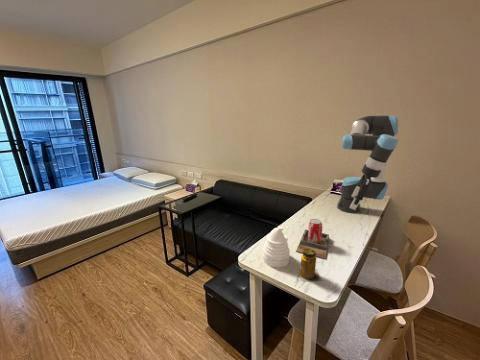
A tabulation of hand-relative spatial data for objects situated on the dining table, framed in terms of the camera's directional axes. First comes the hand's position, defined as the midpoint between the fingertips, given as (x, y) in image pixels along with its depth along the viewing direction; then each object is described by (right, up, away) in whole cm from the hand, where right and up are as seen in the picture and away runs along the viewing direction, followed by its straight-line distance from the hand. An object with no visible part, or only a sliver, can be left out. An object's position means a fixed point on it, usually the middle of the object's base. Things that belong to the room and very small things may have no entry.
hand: (353, 202), depth 116 cm
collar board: (-20, -24, +3) cm, 31 cm away
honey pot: (-42, -27, -7) cm, 50 cm away
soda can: (-19, -22, +4) cm, 29 cm away
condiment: (-29, -30, -18) cm, 45 cm away
